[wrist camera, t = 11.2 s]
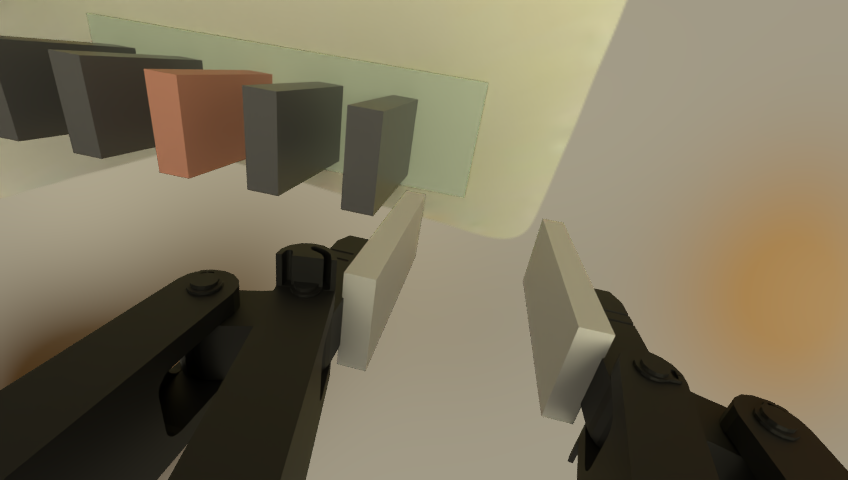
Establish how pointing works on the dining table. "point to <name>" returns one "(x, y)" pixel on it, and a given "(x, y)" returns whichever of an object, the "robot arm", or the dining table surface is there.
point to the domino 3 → (290, 133)
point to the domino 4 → (376, 151)
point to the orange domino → (198, 117)
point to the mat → (437, 94)
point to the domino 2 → (108, 98)
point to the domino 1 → (35, 86)
